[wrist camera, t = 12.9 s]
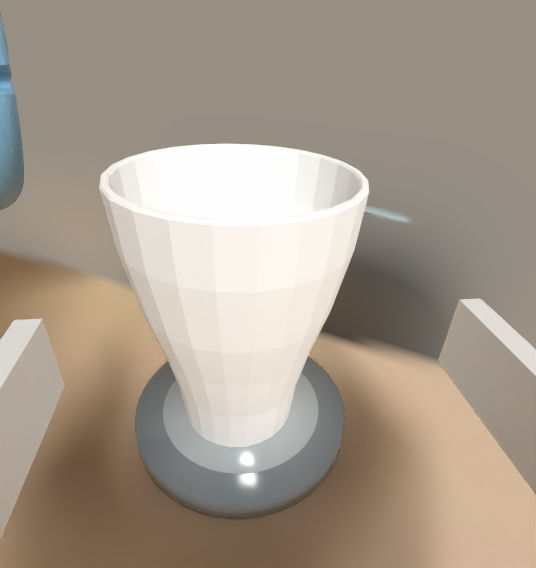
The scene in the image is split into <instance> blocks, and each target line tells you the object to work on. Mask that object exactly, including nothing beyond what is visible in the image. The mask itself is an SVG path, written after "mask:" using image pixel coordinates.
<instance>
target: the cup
mask: <svg viewBox="0 0 536 568" xmlns="http://www.w3.org/2000/svg"><path fill="white" fill-rule="evenodd" d="M99 190H100V194H101V197H102V201H103V204H104V207H105V212H106V215H107V219H108V222H109V226H110V229H111V233H112V236H113V240H114V243H115V247H116V250H117V253H118V255H119V258H120V260H121V262H122V264H123V267H124V270H125V272H126V274H127V277H128V279H129V281H130V284H131V286H132V289H133V291H134V293H135V296H136V298H137V301H138V303H139V305H140V308H141V310H142V312H143V314H144V316H145V318H146V320H147V322H148V323H149V325H150V327H151V329H152V331H153V333H154V334H155V336H156V338H157V340H158V342H159V344H160V346H161V347H162V349H163V351H164V353H165V355H166V358H167V360H168V362H169V364H170V367H171V369H172V371H173V373H174V376H175V378H176V380H177V382H178V385H179V387H180V391H181V395H182V398H183V402H184V406H185V410H186V414H187V418H188V420H189V422H190V424H191V425H192V427H193V429H194V430H195V431H196V432H197V433H198V434H199V435H200V436H202V437H203V438H204V439H206V440H208V441H210V442H212V443H214V444H217V445H222V446H227V447H247V446H251V445H255V444H259V443H261V442H263V441H265V440H267V439H269V438H271V437H273V436H274V435H275V434H276V433H277V432H278V431H279V430H280V429H281V428H282V427H283V425H284V423H285V422H286V420H287V418H288V416H289V412H290V407H291V403H292V399H293V395H294V391H295V387H296V384H297V381H298V379H299V376H300V374H301V372H302V369H303V367H304V364H305V362H306V360H307V357H308V355H309V352H310V350H311V348H312V346H313V344H314V342H315V340H316V338H317V336H318V334H319V332H320V330H321V328H322V326H323V325H324V322H325V321H326V319H327V317H328V315H329V313H330V311H331V308H332V306H333V303H334V300H335V298H336V295H337V293H338V290H339V288H340V285H341V282H342V280H343V277H344V275H345V272H346V270H347V267H348V264H349V262H350V259H351V257H352V254H353V252H354V249H355V245H356V241H357V237H358V233H359V229H360V225H361V221H362V217H363V214H364V210H365V206H366V202H367V198H368V194H369V185H368V180H367V179H366V178H365V177H364V176H363V174H362V173H361V172H360V171H359V170H357V169H356V168H354V167H352V166H350V165H348V164H346V163H345V162H342V161H339V160H336V159H334V158H331V157H328V156H325V155H320V154H316V153H311V152H307V151H303V150H297V149H290V148H283V147H276V146H264V145H252V144H205V145H204V144H203V145H191V146H179V147H171V148H165V149H160V150H153V151H148V152H145V153H141V154H138V155H134V156H130V157H127V158H125V159H123V160H121V161H119V162H117V163H114V164H112V165H111V166H110V167H109V168H108V169H107V170H106V171H104V172H103V173H102V174H101V176H100V183H99Z"/></svg>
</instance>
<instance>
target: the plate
mask: <svg viewBox="0 0 536 568" xmlns="http://www.w3.org/2000/svg"><path fill="white" fill-rule="evenodd" d="M344 420H345V416H344V407H343V403H342V399H341V396H340V394H339V391H338V389H337V387H336V385H335V384H334V382H333V380H332V379H331V377H330V376H329V375H328V374H327V372H326V371H325V370H324V369H323V368H322V367H321V366H320V365H319V364H318V363H316V362H315V361H314V360H312V359H311V358H310V357H307V360H306V362H305V364H304V367H303V369H302V372H301V374H300V376H299V379H298V381H297V384H296V387H295V391H294V395H293V399H292V403H291V407H290V412H289V416H288V418H287V420H286V422H285V423H284V425H283V427H282V428H281V429H280V430H279V431H278V432H277V433H276V434H275V435H274V436H273V437H271V438H269V439H267V440H265V441H263V442H261V443H259V444H255V445H251V446H247V447H227V446H222V445H217V444H214V443H212V442H210V441H208V440H206V439H204V438H203V437H202V436H200V435H199V434H198V433H197V432H196V431H195V430H194V429H193V427H192V425H191V424H190V422H189V420H188V418H187V414H186V410H185V406H184V402H183V398H182V395H181V391H180V387H179V385H178V382H177V380H176V378H175V376H174V373H173V371H172V369H171V367H170V364H169V362H167V363H166V364H165V365H164V366H163V367H162V368H160V369H159V370H158V371H157V372H156V374H155V375H154V376H153V377H152V378H151V379H150V381H149V382H148V384H147V385H146V387H145V389H144V391H143V393H142V395H141V397H140V400H139V403H138V406H137V410H136V417H135V431H136V436H137V441H138V446H139V450H140V455H141V459H142V461H143V464H144V466H145V469H146V470H147V472H148V474H149V475H150V477H151V479H152V480H153V481H154V482H155V484H156V485H157V486H158V487H159V488H160V489H161V490H162V491H163V492H164V493H165V494H166V495H168V496H169V497H170V498H171V499H173V500H174V501H176V502H178V503H179V504H181V505H183V506H184V507H186V508H189V509H191V510H193V511H196V512H198V513H201V514H205V515H209V516H213V517H220V518H228V519H246V518H254V517H260V516H266V515H269V514H272V513H276V512H279V511H281V510H284V509H286V508H288V507H290V506H292V505H294V504H296V503H298V502H299V501H301V500H302V499H304V498H305V497H307V496H308V495H309V494H310V493H312V492H313V491H314V490H315V489H316V488H317V487H318V486H319V485H320V484H321V483H322V482H323V480H324V479H325V478H326V477H327V475H328V474H329V472H330V471H331V469H332V467H333V466H334V463H335V461H336V458H337V456H338V453H339V449H340V445H341V440H342V436H343V431H344Z"/></svg>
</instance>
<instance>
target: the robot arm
mask: <svg viewBox="0 0 536 568" xmlns="http://www.w3.org/2000/svg"><path fill="white" fill-rule="evenodd" d="M10 80H11V70H10V65H9V57H8V47H7V42H6V37H5V32H4V27H3V23H2V18H1V14H0V210H2V209H5V208H7V207H9V206H10V205H11V204H13V203H14V202H15V201H16V199H17V198H18V196H19V195H20V193H21V190H22V187H23V180H24V164H23V163H24V162H23V150H22V140H21V130H20V122H19V115H18V108H17V102H16V96H15V92H14V88H13V86H12V84H11V82H10ZM438 362H439V363H440V365H441V366H442V368H443V369H444V370H445V372H446V373H447V374H448V376H449V377H450V378H451V380H452V381H453V383H454V384H455V385H456V387H457V388H458V389H459V391H460V392H461V393H462V395H463V396H464V398H465V399H466V400H467V402H468V403H469V404H470V406H471V407H472V408H473V410H474V411H475V413H476V414H477V415H478V417H479V418H480V419H481V421H482V422H483V423H484V425H485V426H486V428H487V429H488V430H489V432H490V433H491V434H492V436H493V437H494V438H495V440H496V441H497V443H498V444H499V445H500V447H501V448H502V449H503V451H504V452H505V453H506V455H507V456H508V458H509V459H510V460H511V462H512V463H513V464H514V466H515V467H516V468H517V470H518V471H519V473H520V474H521V475H522V477H523V478H524V479H525V481H526V482H527V483H528V485H529V486H530V488H531V489H532V490H533V492H534V493H535V494H536V349H534V348H533V347H532V346H531V345H530V344H529V343H528V342H527V341H526V340H525V339H524V338H523V337H521V336H520V335H519V334H518V333H517V332H516V331H515V330H514V329H513V328H512V327H510V325H509V324H507V323H506V322H505V321H504V320H503V319H502V318H501V317H500V316H499V315H498V314H497V313H495V312H494V311H493V310H492V309H491V308H490V307H489V306H488V305H487V304H486V303H485V302H484V301H482V300H481V299H463V300H459V303H458V306H457V309H456V311H455V314H454V317H453V320H452V323H451V326H450V329H449V331H448V334H447V337H446V340H445V343H444V346H443V349H442V352H441V355H440V357H439V360H438ZM64 387H65V386H64V383H63V380H62V377H61V373H60V370H59V367H58V364H57V361H56V358H55V355H54V352H53V349H52V346H51V343H50V339H49V336H48V333H47V330H46V327H45V324H44V321H43V319H22V320H14V321H13V323H12V324H11V325H10V327H9V328H8V330H7V331H6V332H5V334H4V335H3V337H2V338H1V340H0V539H1V537H2V535H3V532H4V530H5V527H6V525H7V523H8V520H9V518H10V516H11V513H12V511H13V508H14V506H15V504H16V501H17V499H18V497H19V494H20V492H21V489H22V487H23V485H24V482H25V480H26V478H27V475H28V473H29V470H30V468H31V466H32V463H33V461H34V459H35V456H36V454H37V451H38V449H39V447H40V444H41V442H42V440H43V437H44V435H45V432H46V430H47V428H48V425H49V423H50V421H51V418H52V416H53V413H54V411H55V409H56V406H57V404H58V402H59V399H60V397H61V394H62V392H63V390H64Z"/></svg>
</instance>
